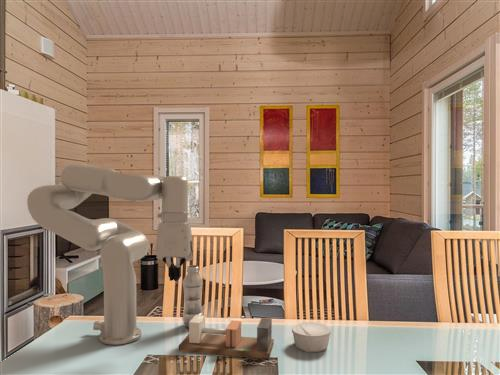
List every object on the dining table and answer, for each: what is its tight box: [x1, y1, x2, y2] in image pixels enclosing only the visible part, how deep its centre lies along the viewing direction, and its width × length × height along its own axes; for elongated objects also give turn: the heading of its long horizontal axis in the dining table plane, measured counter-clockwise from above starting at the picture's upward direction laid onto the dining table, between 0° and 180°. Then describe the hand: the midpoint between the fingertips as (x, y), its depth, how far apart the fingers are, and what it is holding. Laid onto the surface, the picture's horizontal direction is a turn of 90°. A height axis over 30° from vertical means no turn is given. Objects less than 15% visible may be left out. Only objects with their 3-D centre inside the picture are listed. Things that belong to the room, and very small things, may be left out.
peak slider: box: [225, 319, 242, 349], centre depth 120 cm, size 3×8×5 cm, turn 170°
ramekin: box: [291, 321, 332, 353], centre depth 122 cm, size 11×11×5 cm
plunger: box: [188, 315, 226, 343], centre depth 122 cm, size 10×6×6 cm, turn 80°
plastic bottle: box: [182, 264, 204, 328], centre depth 137 cm, size 6×7×20 cm
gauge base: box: [178, 317, 275, 360], centre depth 121 cm, size 26×10×8 cm, turn 80°
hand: (174, 279), depth 123 cm, fingers closed
